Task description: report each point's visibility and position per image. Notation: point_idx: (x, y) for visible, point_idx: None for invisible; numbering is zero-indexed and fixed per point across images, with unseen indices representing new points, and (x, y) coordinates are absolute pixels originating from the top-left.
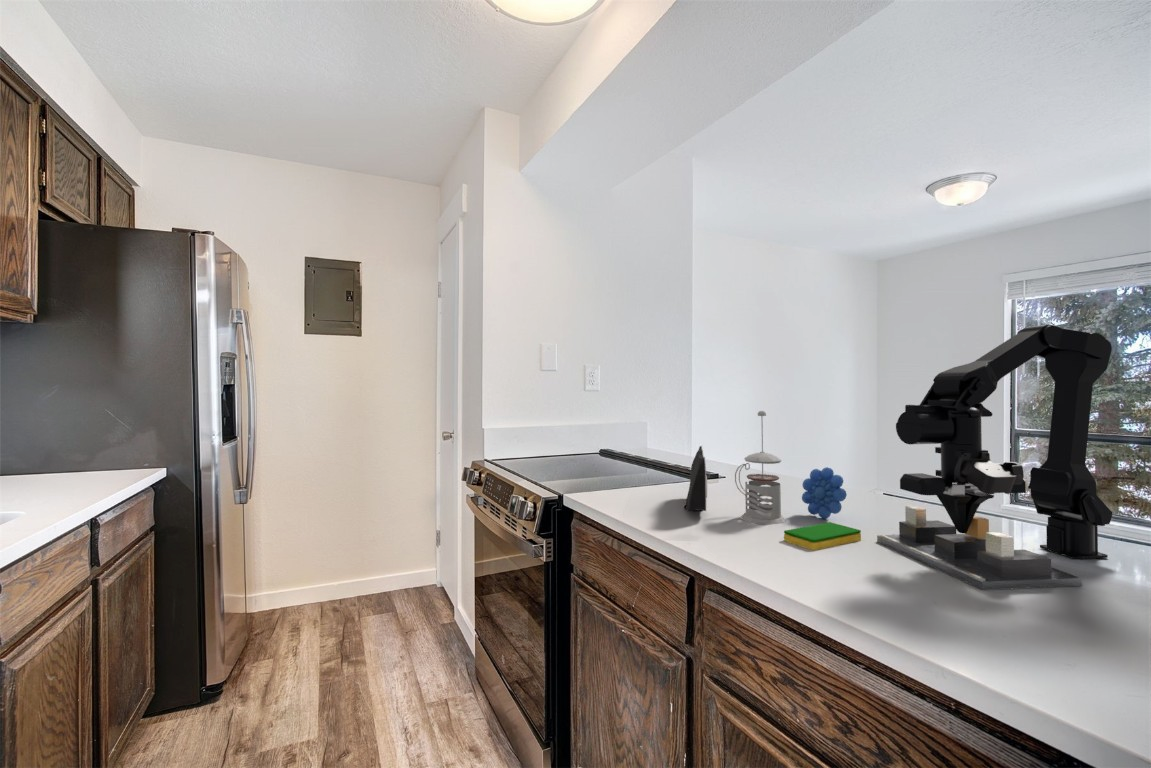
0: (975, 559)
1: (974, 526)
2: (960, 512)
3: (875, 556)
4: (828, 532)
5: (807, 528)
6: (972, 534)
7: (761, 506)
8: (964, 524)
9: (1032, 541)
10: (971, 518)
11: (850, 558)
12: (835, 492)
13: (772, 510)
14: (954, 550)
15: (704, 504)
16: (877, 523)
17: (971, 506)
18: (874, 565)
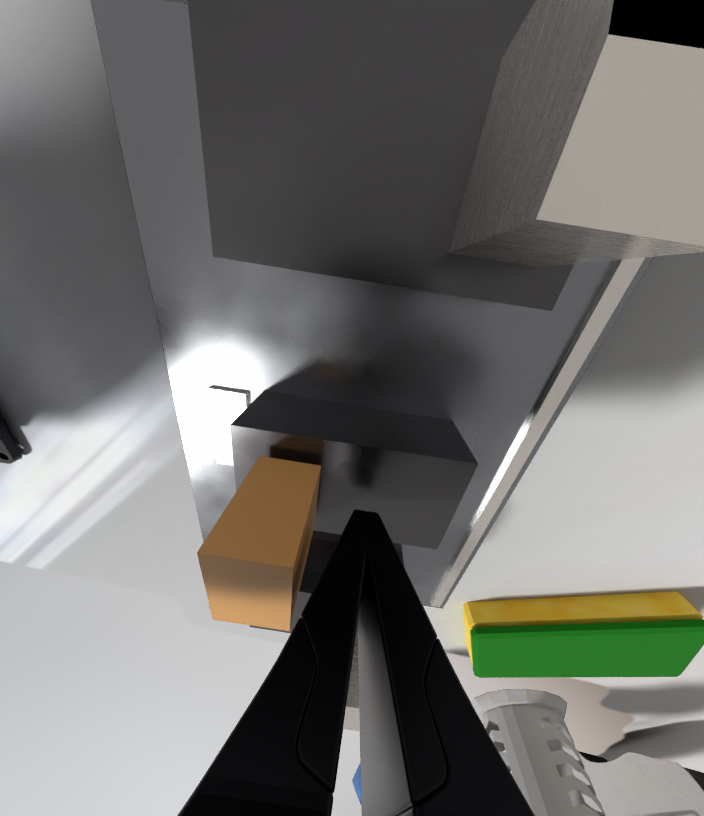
0: (379, 396)
1: (306, 530)
2: (449, 680)
3: (581, 525)
4: (588, 646)
5: (599, 671)
6: (316, 498)
7: (499, 742)
8: (376, 554)
9: (14, 497)
10: (330, 589)
11: (675, 532)
12: None
13: (544, 737)
14: (463, 440)
15: (702, 790)
16: None
17: (333, 771)
18: (693, 477)
